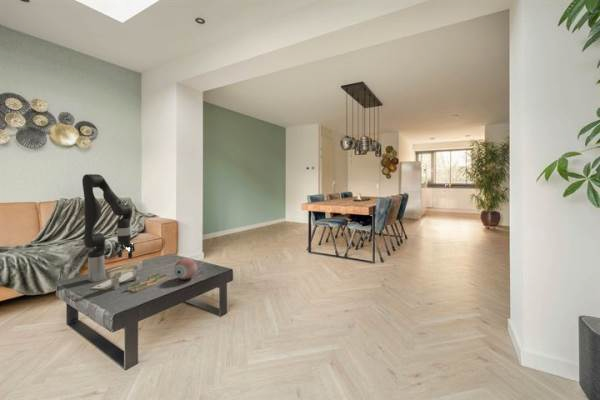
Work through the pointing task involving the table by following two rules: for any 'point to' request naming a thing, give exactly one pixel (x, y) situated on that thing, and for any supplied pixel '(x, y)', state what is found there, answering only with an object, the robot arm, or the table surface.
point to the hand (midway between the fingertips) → (125, 257)
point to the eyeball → (185, 268)
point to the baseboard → (107, 283)
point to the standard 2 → (136, 273)
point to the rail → (123, 269)
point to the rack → (146, 283)
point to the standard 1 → (115, 281)
